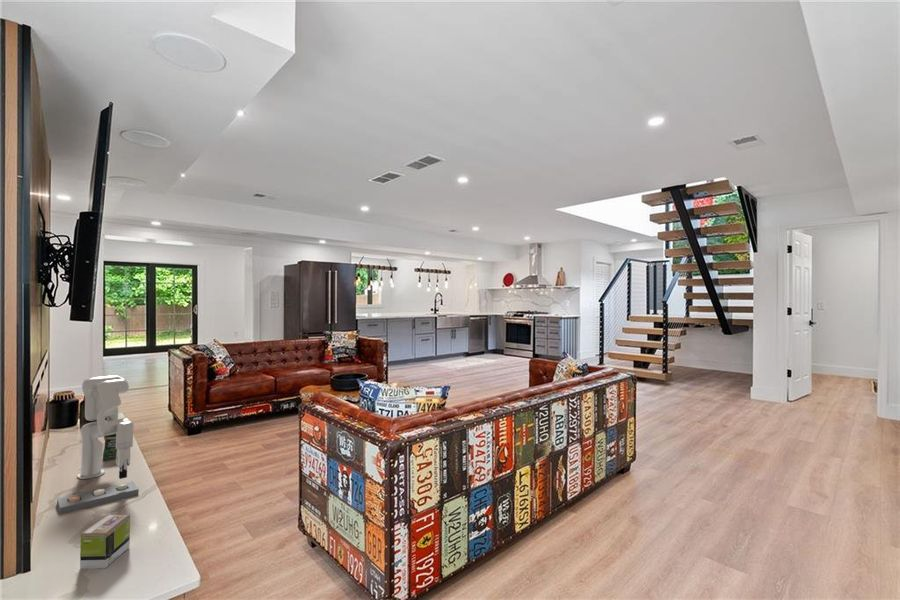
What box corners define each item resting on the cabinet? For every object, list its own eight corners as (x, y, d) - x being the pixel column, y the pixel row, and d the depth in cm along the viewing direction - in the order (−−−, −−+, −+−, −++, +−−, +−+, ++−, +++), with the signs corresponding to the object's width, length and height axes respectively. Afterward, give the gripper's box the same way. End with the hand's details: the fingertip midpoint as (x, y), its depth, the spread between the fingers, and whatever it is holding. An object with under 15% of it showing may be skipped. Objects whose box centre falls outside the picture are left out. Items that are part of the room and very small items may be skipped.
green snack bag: (102, 461, 278) (103, 432, 278) (103, 457, 285) (104, 429, 285) (120, 458, 284) (122, 430, 284) (121, 455, 290) (122, 427, 290)
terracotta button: (67, 503, 220) (68, 498, 220) (79, 501, 224) (79, 495, 224) (69, 506, 217) (69, 500, 217) (80, 504, 221) (80, 498, 221)
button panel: (56, 504, 221) (57, 498, 221) (132, 486, 244) (132, 481, 244) (59, 514, 211) (60, 507, 211) (138, 494, 235) (138, 489, 235)
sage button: (116, 490, 235) (116, 485, 235) (126, 488, 238) (126, 482, 238) (118, 493, 232) (118, 487, 232) (128, 490, 235) (128, 485, 235)
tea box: (105, 548, 185) (107, 513, 185) (130, 547, 186) (131, 513, 186) (78, 569, 170) (80, 532, 170) (105, 569, 171) (106, 532, 171)
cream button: (92, 496, 228) (93, 490, 228) (103, 493, 231) (103, 488, 231) (94, 499, 225) (94, 493, 225) (104, 496, 228) (105, 490, 228)
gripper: (113, 442, 238) (111, 475, 237) (118, 449, 227) (117, 483, 227) (129, 439, 243) (128, 472, 243) (135, 446, 233) (134, 480, 233)
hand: (122, 477), depth 235 cm, fingers closed
